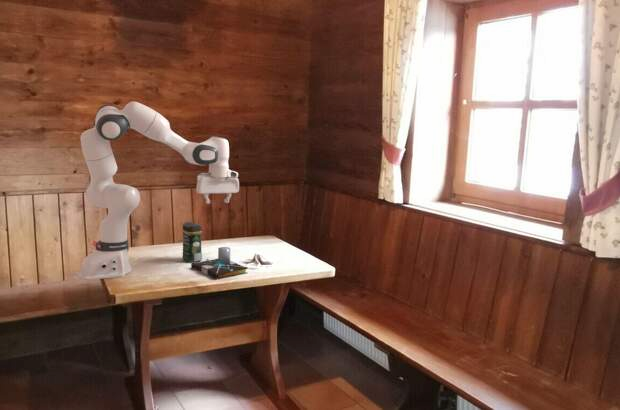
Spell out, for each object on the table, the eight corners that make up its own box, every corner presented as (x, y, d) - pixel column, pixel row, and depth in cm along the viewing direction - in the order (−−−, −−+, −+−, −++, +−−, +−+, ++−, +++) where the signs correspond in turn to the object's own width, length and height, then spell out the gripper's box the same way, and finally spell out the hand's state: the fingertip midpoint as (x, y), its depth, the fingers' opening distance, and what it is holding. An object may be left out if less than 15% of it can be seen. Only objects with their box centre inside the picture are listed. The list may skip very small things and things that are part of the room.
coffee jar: (180, 259, 253) (180, 221, 250) (195, 256, 258) (195, 220, 255) (188, 263, 245) (188, 225, 242) (204, 261, 250) (204, 223, 247)
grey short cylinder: (222, 264, 234) (222, 250, 233) (216, 261, 238) (216, 248, 237) (232, 262, 237) (232, 248, 236) (226, 260, 241) (226, 246, 240)
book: (190, 269, 238) (190, 258, 238) (222, 263, 250) (222, 253, 249) (216, 281, 223) (216, 270, 222) (248, 274, 234) (248, 264, 233)
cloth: (248, 272, 237) (248, 259, 236) (231, 262, 252) (231, 250, 251) (290, 267, 249) (290, 254, 248) (271, 258, 264) (272, 246, 263)
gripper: (200, 173, 226) (199, 204, 228) (241, 173, 239) (240, 203, 241) (194, 172, 231) (193, 202, 233) (234, 172, 244) (233, 201, 245)
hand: (217, 203), depth 237 cm, fingers open, 8 cm apart
